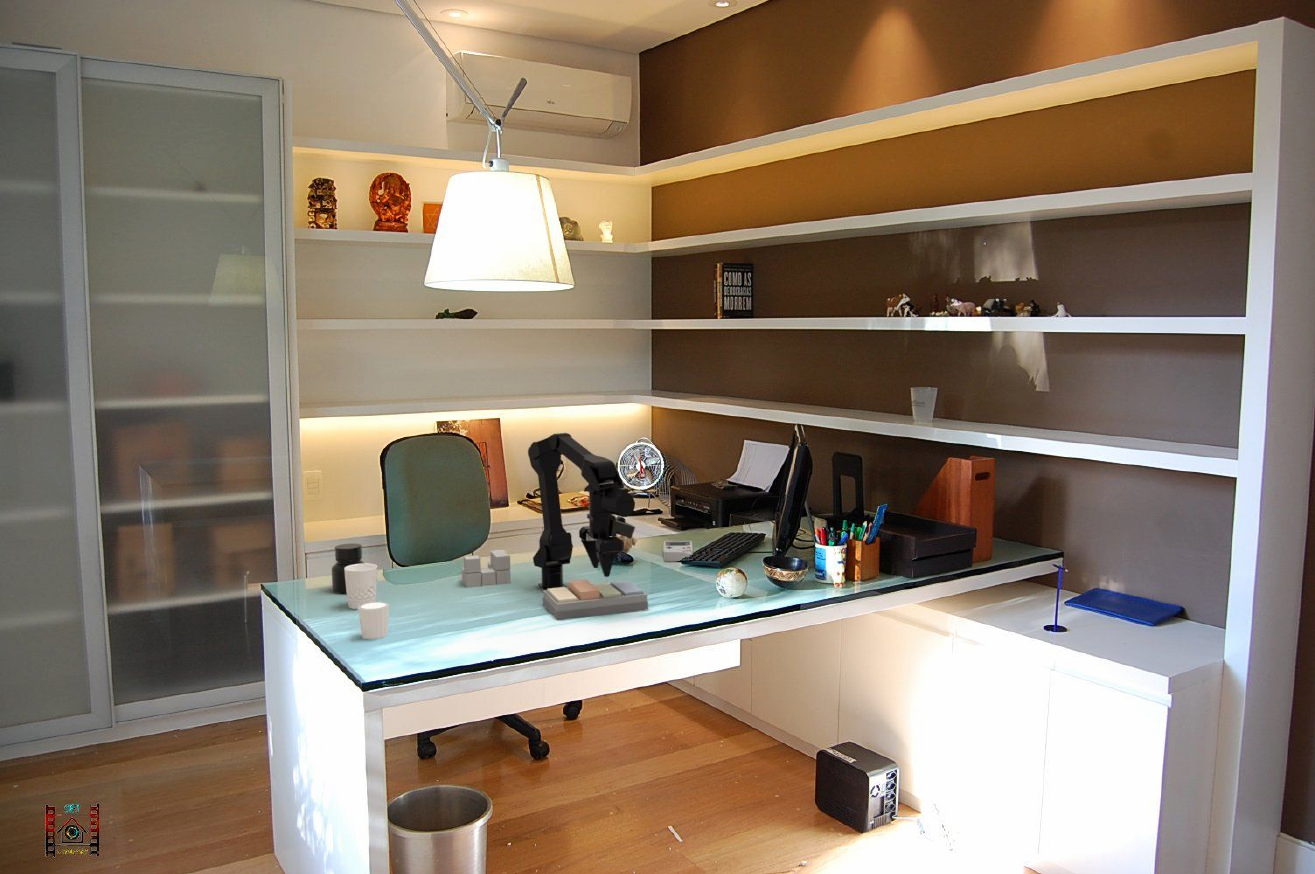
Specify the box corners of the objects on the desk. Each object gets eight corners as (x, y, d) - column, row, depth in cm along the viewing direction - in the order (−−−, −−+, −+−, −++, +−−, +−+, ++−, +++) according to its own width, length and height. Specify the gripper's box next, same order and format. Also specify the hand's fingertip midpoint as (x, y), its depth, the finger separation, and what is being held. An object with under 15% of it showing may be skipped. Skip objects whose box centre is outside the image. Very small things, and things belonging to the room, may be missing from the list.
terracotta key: (568, 590, 241) (568, 581, 241) (586, 588, 243) (586, 579, 243) (581, 601, 231) (581, 592, 231) (599, 599, 233) (599, 590, 232)
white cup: (384, 603, 243) (383, 564, 242) (366, 611, 236) (364, 571, 235) (358, 600, 246) (357, 562, 245) (339, 608, 239) (337, 569, 238)
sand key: (547, 598, 239) (547, 588, 239) (565, 596, 241) (565, 586, 241) (558, 609, 229) (558, 599, 229) (577, 607, 231) (577, 597, 231)
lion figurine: (639, 562, 285) (638, 532, 284) (623, 564, 282) (623, 535, 281) (614, 553, 297) (613, 524, 296) (599, 555, 294) (598, 526, 293)
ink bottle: (375, 587, 258) (374, 544, 257) (352, 596, 250) (350, 551, 249) (347, 584, 262) (346, 541, 261) (324, 592, 254) (322, 547, 253)
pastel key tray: (543, 604, 241) (542, 590, 240) (629, 595, 249) (629, 581, 248) (557, 620, 228) (557, 604, 227) (647, 609, 236) (647, 594, 235)
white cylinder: (362, 631, 220) (361, 601, 220) (393, 630, 221) (392, 600, 220) (355, 640, 214) (354, 610, 213) (387, 639, 214) (386, 609, 213)
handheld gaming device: (663, 563, 285) (663, 550, 285) (663, 552, 300) (663, 540, 299) (693, 563, 285) (693, 551, 285) (691, 552, 300) (692, 540, 299)
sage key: (590, 593, 243) (590, 584, 243) (607, 591, 245) (607, 582, 245) (603, 604, 233) (603, 595, 233) (621, 602, 235) (621, 593, 234)
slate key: (611, 591, 245) (611, 582, 245) (628, 589, 247) (628, 580, 247) (625, 602, 235) (625, 592, 235) (642, 600, 237) (642, 590, 236)
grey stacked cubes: (501, 573, 273) (500, 546, 273) (510, 583, 262) (510, 555, 261) (459, 577, 269) (458, 550, 268) (466, 588, 258) (466, 559, 257)
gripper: (644, 515, 232) (644, 578, 234) (619, 502, 249) (619, 561, 251) (600, 518, 228) (600, 582, 230) (578, 505, 245) (578, 564, 247)
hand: (601, 572), depth 239 cm, fingers open, 9 cm apart
